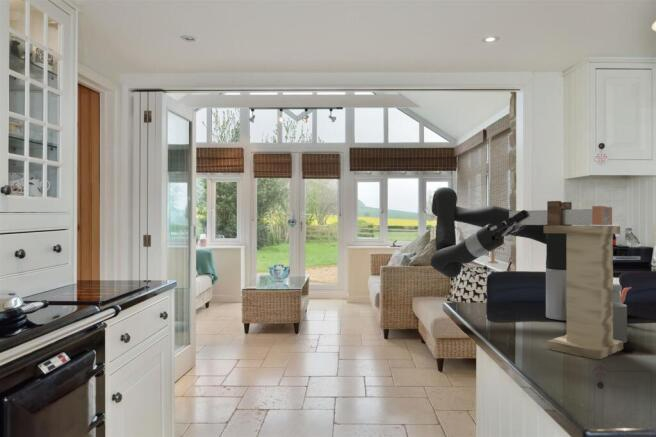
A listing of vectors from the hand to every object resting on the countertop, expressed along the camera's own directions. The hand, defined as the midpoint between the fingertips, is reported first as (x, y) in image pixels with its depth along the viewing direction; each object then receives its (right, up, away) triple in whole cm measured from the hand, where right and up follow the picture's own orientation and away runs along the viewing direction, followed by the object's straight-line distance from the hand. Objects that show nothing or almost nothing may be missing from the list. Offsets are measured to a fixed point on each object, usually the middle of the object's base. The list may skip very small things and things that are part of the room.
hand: (530, 213), depth 125 cm
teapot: (+45, -38, +39) cm, 70 cm away
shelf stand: (+8, -36, -12) cm, 38 cm away
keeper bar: (+4, -3, -6) cm, 8 cm away
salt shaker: (+38, -37, +21) cm, 57 cm away
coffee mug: (+21, -36, 0) cm, 42 cm away
